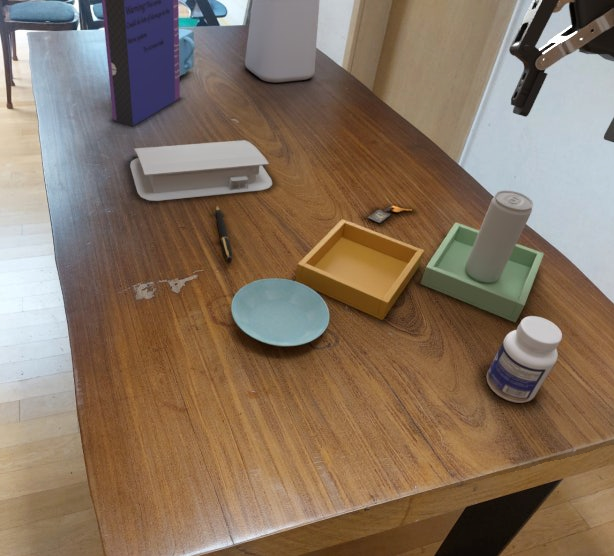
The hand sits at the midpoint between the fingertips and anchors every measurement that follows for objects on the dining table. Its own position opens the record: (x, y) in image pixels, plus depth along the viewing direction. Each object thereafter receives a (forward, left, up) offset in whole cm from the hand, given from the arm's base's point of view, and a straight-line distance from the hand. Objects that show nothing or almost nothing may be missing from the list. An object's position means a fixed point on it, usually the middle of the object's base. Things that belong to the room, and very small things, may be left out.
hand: (565, 128), depth 48 cm
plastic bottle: (+66, -67, -27) cm, 98 cm away
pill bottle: (-6, +4, -27) cm, 28 cm away
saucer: (+20, +11, -27) cm, 36 cm away
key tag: (+18, -21, -27) cm, 39 cm away
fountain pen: (+36, 0, -27) cm, 46 cm away
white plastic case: (+50, -13, -27) cm, 59 cm away
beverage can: (+2, -14, -27) cm, 31 cm away
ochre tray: (+16, -4, -27) cm, 32 cm away
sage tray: (+2, -14, -27) cm, 31 cm away
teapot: (+86, -46, -27) cm, 101 cm away
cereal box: (+75, -28, -27) cm, 85 cm away
